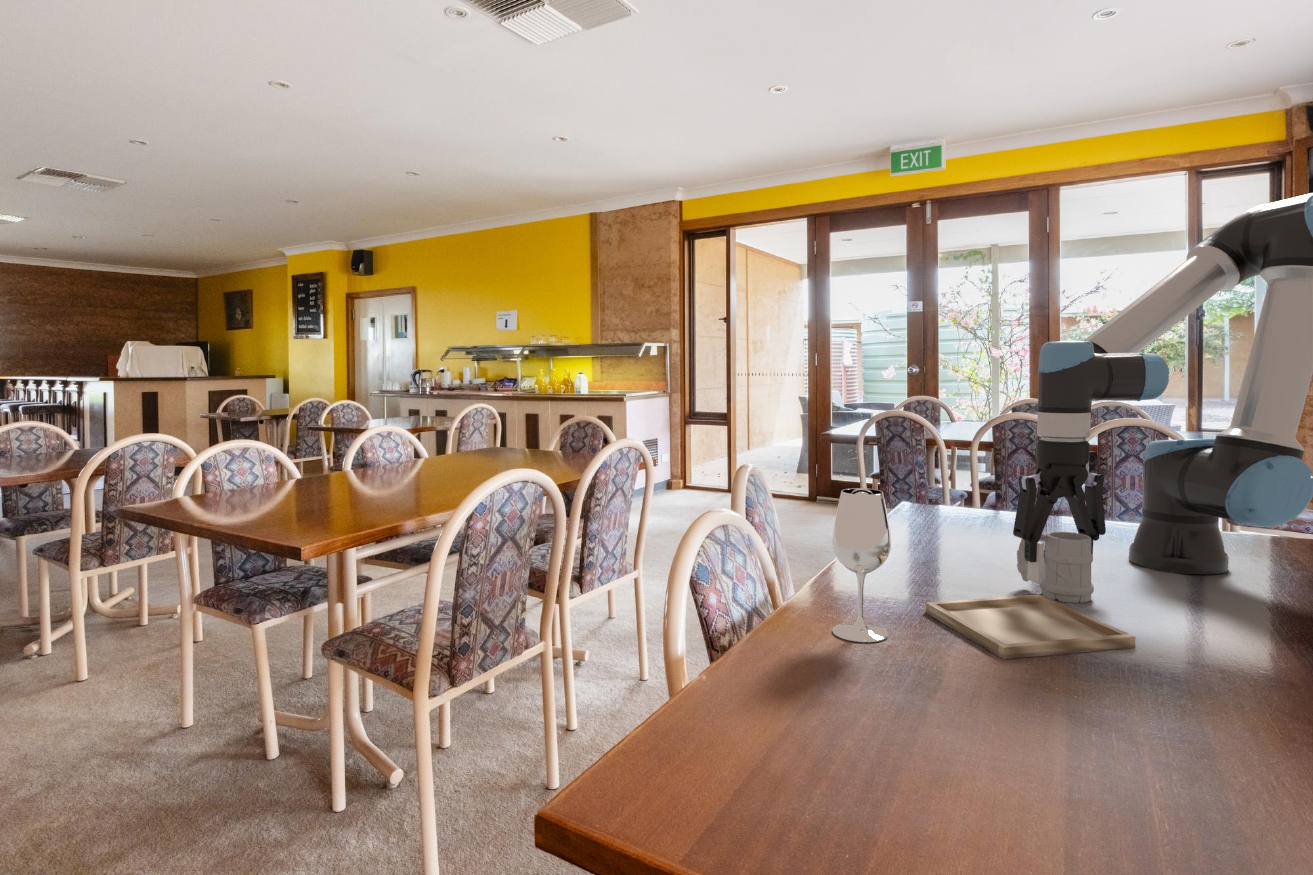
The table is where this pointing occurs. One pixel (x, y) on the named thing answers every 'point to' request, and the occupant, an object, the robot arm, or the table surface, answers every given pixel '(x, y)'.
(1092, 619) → the square serving tray
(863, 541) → the wineglass
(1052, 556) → the mug
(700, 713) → the table surface
